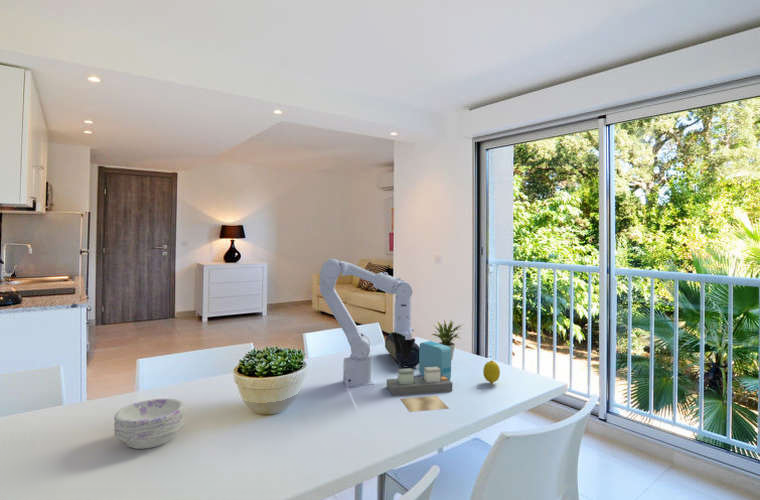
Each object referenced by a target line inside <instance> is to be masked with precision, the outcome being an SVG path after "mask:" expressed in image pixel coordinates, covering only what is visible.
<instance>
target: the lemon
mask: <svg viewBox="0 0 760 500" xmlns="http://www.w3.org/2000/svg"><path fill="white" fill-rule="evenodd" d="M482 371H483V378H484V379H485V380H486V381H487V382H489V383H490V384H494V383H495V382H497V381H498V380H499V378H500V375H501V370H500V366H499V365H498V363H497V362H495V361H494V360H492V359H491V360H490V361H486V363H484V366H483V370H482Z"/></svg>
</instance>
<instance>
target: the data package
mask: <svg viewBox="0 0 760 500" xmlns="http://www.w3.org/2000/svg"><path fill="white" fill-rule="evenodd" d="M418 346H419V364H418V371H419V374H420V375H421V377H424V367H438V368H439V369H440V375H444V376H445V377H446V378H447V379H448V380H450V381H451V378H452V360H451V349H450V347H449V346H446V345H442V344H439V342H435V341H432V340H429V341H424V342H420V343H419V345H418Z"/></svg>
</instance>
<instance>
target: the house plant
mask: <svg viewBox="0 0 760 500" xmlns="http://www.w3.org/2000/svg"><path fill="white" fill-rule="evenodd" d="M443 322H444V324H441V322H439V321H437V324H438V327H437V326H436V325H434V324H433V327H434V328H435V329H436V330H437V332H438V333H439V334H436V333H433V334H431V336H436V337H438V338H439V339H440V340H441V341H440V342H438V343H439V344H442V345H446V346H449V347H450V349H451V361H452V360H453V357H454V353H455V347H456V343H455V342H453V341H454V340H455V338H456V339H460V340H461V338H460V337H461V336H459V334H460V332H457V333H455V332H456V331H457V330H459V329H460V328H462V327H463V326H464V324H459V325H457V326H455V327H454V328H453V325H454V321H453V320H452V319H451V320H450V322H449V324H448V326H447V323H446V320H445V319H443ZM452 328H453V329H452Z"/></svg>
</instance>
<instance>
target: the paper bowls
mask: <svg viewBox="0 0 760 500" xmlns="http://www.w3.org/2000/svg"><path fill="white" fill-rule="evenodd" d="M185 405H186V404H185V403H184V402H183V401H181V400H178V399H176V398H175V399H174V398H156V399H148V400H142V401H139V402H135V403H132V404H129V405H127V406H124V407H122V408H120V409H119V410H117V411H116V413H115V414H114V424H113V425H114V426H113V427H114V428H113V431H114V432H113V433H114V438H116V439H118V440H119V441H122V442H124V443H125V444H126V445H127V446H128V447H129V448H132V449H137V450H142V449H143V450H144V449H145V448H146V449H152V448H157V447H159V446H162V445H164V444H166V443H168V442H169V441H171V440H172V439H173V438H174V437H175V435H176V432H178V431H180V430H181V429H182V428H183V427H184V426H185V422H186V421H185V419H186V418H185V417H186V414H185V413H186V412H185V408H186V406H185ZM146 449H145V450H146Z"/></svg>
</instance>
